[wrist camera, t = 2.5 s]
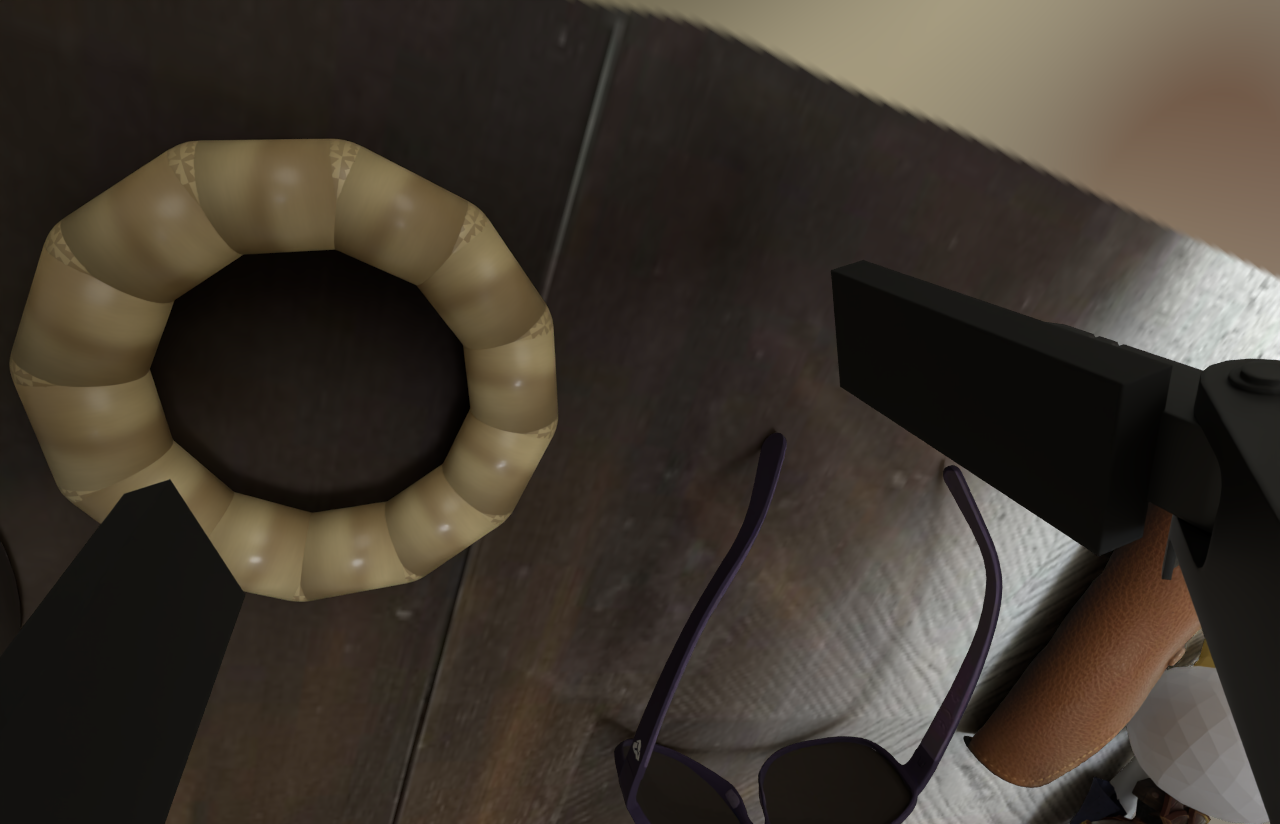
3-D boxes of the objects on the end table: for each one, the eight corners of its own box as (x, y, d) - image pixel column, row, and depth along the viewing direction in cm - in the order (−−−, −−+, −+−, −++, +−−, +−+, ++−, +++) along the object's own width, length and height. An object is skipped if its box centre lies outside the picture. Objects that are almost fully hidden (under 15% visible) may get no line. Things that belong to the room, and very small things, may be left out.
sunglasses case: (1056, 752, 38) (1116, 850, 31) (939, 692, 38) (975, 776, 32) (1265, 481, 33) (1386, 530, 27) (1130, 416, 34) (1217, 450, 27)
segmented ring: (-10, 494, 17) (-69, 549, 15) (138, 25, 14) (91, 12, 12) (447, 600, 22) (451, 652, 20) (618, 274, 19) (643, 295, 17)
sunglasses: (577, 766, 27) (609, 892, 23) (697, 415, 22) (767, 490, 18) (844, 751, 32) (911, 851, 28) (990, 464, 27) (1100, 532, 23)
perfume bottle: (1082, 740, 36) (1142, 561, 41) (1175, 835, 39) (1222, 655, 43) (1253, 789, 30) (1302, 569, 34) (1354, 900, 32) (1387, 679, 37)
